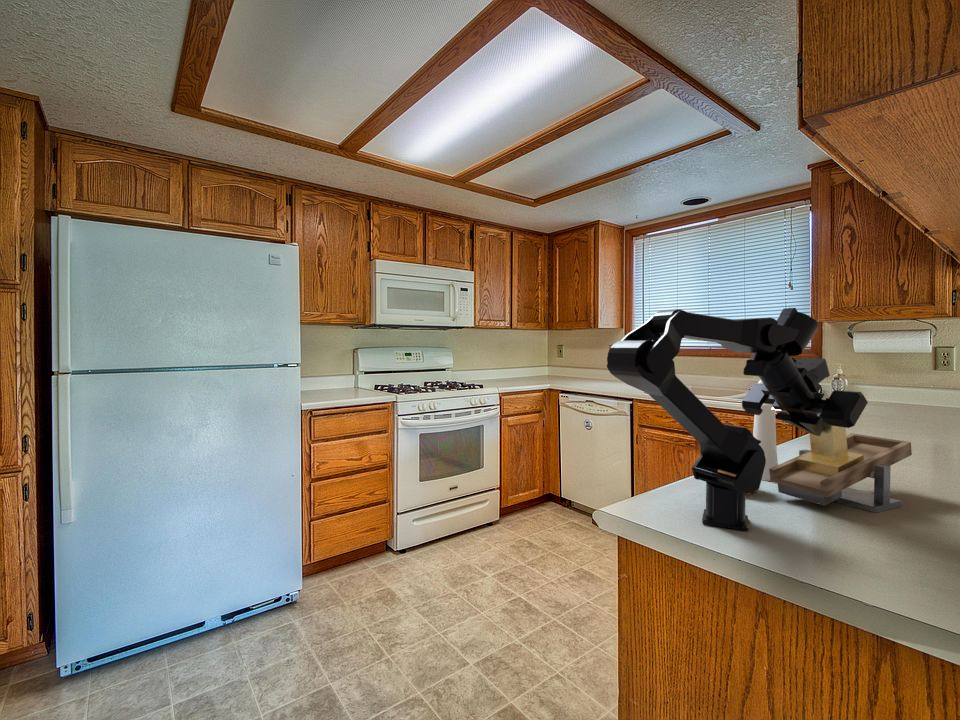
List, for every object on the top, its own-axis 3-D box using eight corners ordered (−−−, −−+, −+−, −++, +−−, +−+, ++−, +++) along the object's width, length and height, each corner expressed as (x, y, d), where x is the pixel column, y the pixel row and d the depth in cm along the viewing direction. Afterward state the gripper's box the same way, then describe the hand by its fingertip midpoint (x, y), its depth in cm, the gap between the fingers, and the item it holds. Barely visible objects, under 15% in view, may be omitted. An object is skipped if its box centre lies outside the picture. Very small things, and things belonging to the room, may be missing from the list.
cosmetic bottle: (786, 478, 100) (788, 377, 99) (768, 482, 97) (770, 378, 97) (759, 472, 106) (760, 375, 105) (741, 475, 103) (743, 376, 102)
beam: (831, 509, 78) (829, 483, 78) (769, 490, 88) (767, 468, 88) (915, 465, 88) (913, 442, 88) (851, 453, 98) (849, 432, 98)
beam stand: (875, 512, 80) (876, 469, 79) (787, 488, 93) (788, 451, 93) (901, 506, 83) (902, 464, 83) (812, 483, 97) (813, 447, 96)
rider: (838, 478, 82) (833, 423, 81) (798, 468, 89) (792, 418, 88) (864, 465, 85) (859, 412, 84) (823, 457, 92) (818, 408, 91)
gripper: (862, 342, 74) (899, 407, 79) (752, 342, 91) (788, 396, 96) (830, 393, 71) (871, 458, 76) (723, 384, 88) (761, 437, 93)
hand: (818, 433), depth 85 cm, fingers closed
